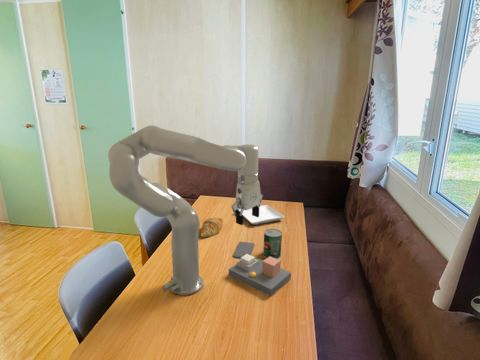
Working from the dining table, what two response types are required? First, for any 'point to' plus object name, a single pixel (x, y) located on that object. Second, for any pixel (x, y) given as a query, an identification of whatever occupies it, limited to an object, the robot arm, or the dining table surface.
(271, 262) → the block
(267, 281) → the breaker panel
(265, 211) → the salad plate
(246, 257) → the button
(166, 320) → the dining table surface
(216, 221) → the croissant
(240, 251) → the smartphone
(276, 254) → the canned tomato
